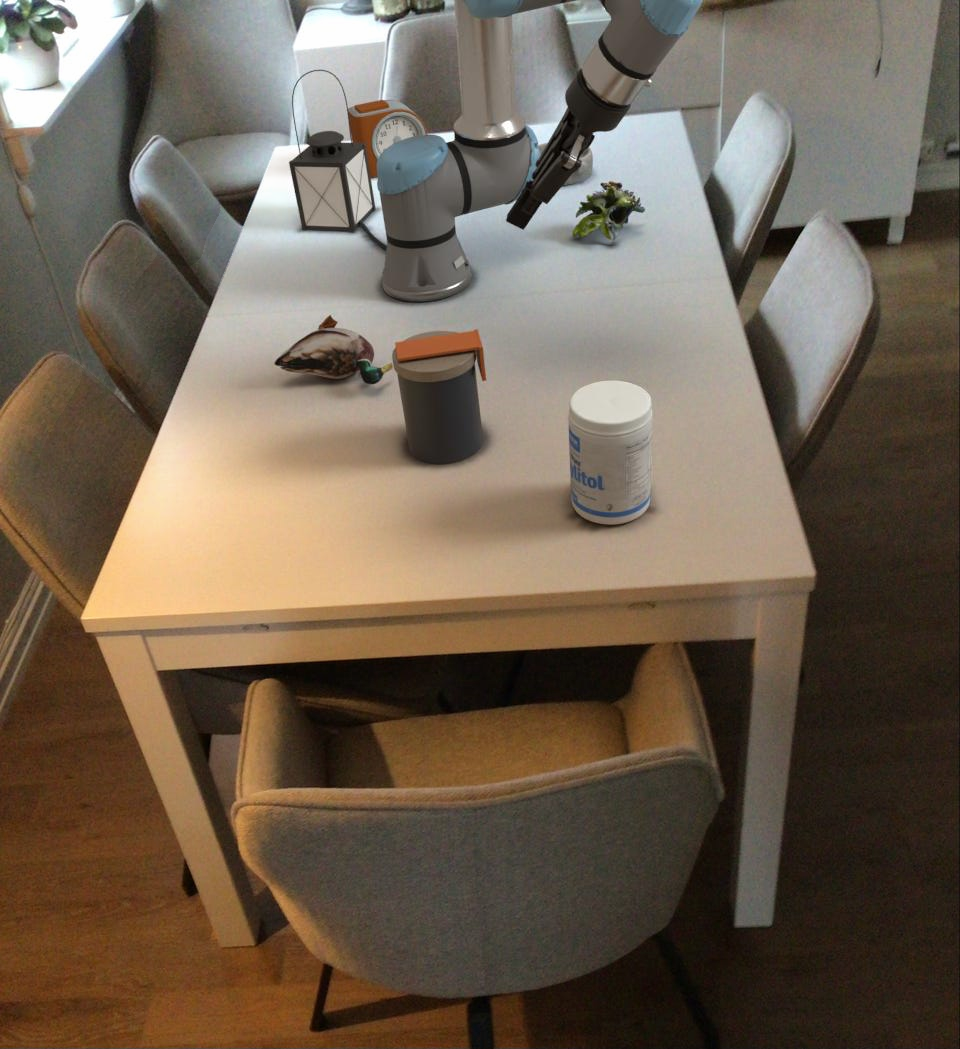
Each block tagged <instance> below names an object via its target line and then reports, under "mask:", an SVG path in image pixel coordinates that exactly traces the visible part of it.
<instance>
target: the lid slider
mask: <svg viewBox="0 0 960 1049" xmlns="http://www.w3.org/2000/svg"><path fill="white" fill-rule="evenodd" d="M394 345H395V347H396V352H397V359H398V361H404V360H411V359H418V358H424V357H431V356H438V355H445V354H451V353H458V352H465V351H471V350H476V363H477V367H478V370H479V373H480V374H479V375H480V377H481V381H482V382H485V381H487V375H486V365H485V364H486V363H485V354H484V346H483V343H482V340H481V336H480V333H479V330H478V329H477V328H476V329H473V330H469V331H462V332H457V333H456V334H449V335H442V336H435V337H429V338H422V339H415V340H409V341H404V340H402V341H395V342H394Z"/></svg>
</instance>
